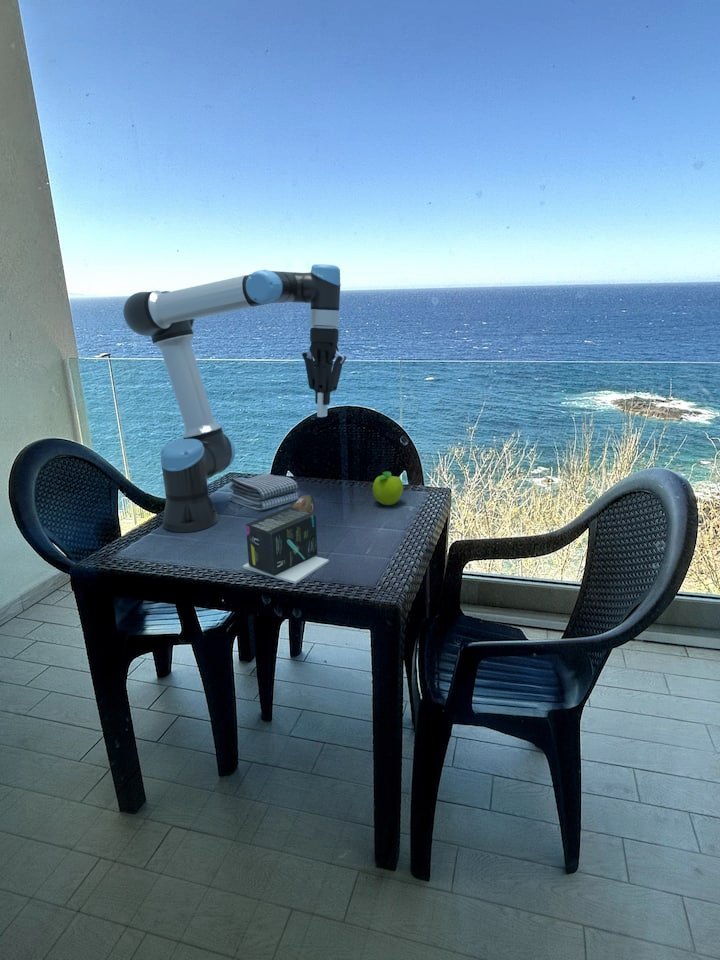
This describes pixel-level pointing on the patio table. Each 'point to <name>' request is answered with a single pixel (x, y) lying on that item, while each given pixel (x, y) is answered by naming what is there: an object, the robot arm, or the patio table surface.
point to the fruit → (387, 488)
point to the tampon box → (281, 540)
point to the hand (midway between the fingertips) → (322, 416)
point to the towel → (263, 491)
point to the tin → (305, 504)
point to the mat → (295, 570)
